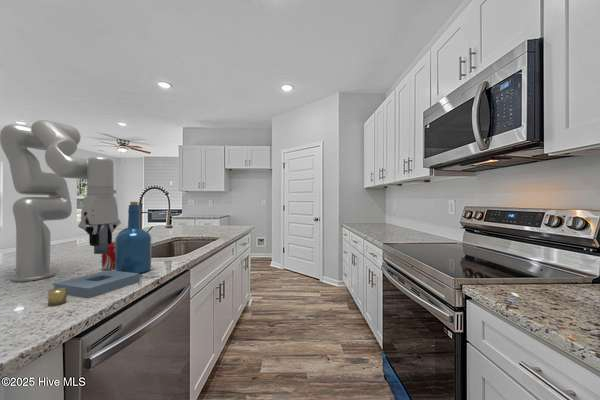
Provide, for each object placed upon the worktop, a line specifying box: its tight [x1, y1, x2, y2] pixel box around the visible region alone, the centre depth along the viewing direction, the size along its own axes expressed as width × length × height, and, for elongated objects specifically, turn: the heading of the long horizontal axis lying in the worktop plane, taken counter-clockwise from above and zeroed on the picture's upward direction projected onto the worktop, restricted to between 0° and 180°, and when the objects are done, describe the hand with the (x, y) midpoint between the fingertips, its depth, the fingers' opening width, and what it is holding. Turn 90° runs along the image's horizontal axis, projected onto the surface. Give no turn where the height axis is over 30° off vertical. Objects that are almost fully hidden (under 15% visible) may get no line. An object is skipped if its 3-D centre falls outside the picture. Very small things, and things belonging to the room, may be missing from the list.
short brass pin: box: [47, 288, 67, 307], centre depth 78 cm, size 4×4×4 cm
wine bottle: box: [114, 201, 152, 275], centre depth 114 cm, size 14×13×30 cm
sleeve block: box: [53, 270, 141, 299], centre depth 94 cm, size 16×18×3 cm
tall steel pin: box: [93, 224, 108, 255], centre depth 94 cm, size 4×4×10 cm
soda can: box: [101, 240, 115, 271], centre depth 119 cm, size 7×7×12 cm
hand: (101, 244), depth 94 cm, fingers closed on tall steel pin, 4 cm apart
